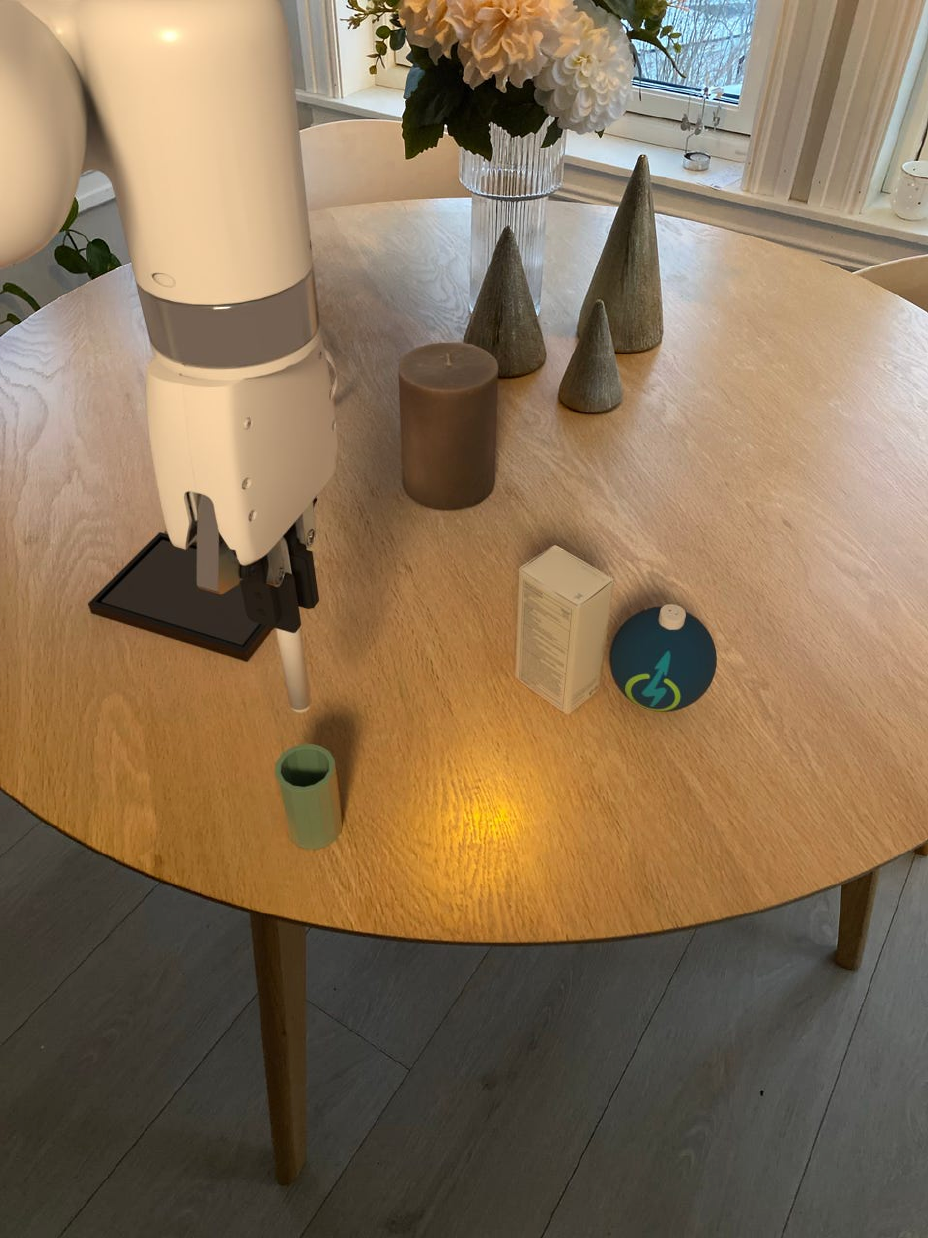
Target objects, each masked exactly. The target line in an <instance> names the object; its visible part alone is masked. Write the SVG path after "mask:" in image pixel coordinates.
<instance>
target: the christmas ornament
mask: <svg viewBox="0 0 928 1238" xmlns="http://www.w3.org/2000/svg"><path fill="white" fill-rule="evenodd" d="M608 662H609V668H610V672H611V676H612V679H613V681H614V683H615V685H616V686H617V688H618V689H619V691H620V692H621V693H622V694H623V696H624V697H625V698H626V699H628V700H629V701H630V702H632V703H633V704H634V705H636V706H637V707H640V708H643V709H645V710H648V711H653V712H660V713H669V712H675V711H679V710H682V709H684V708H685V709H686V708H687V707H689V706H691V705H692V704H694V703H696V702H697V701H698V700H700V699H701V698H702V697H703V696H704V694H705V693H706V692H707V691H708V689H709V688H710V686H711V684H712V683H713V680H714V678H715V675H716V672H717V667H718V666H717V665H718V654H717V648H716V644H715V642H714V639H713V637H712V635H711V633H710V631H709V630H708V628H707V627H706V626H705V624H704V623H703V622H702V621H700V619H698V617H696V616H695V615H693V614H692V613H689V612H688V611H686V610H685V609H684V608H683V607H682V606H680V605H678V604H674V603H669V604H667V603H666V604H665V605H663V606H653V607H648V608H645V609H642V610H640V611H638V612H636V613H634V614H633V615H631V616H630V617H629V618H627V619H626V620H625V621H624V622H623V623H622V625H620V626H619V628H618V629H617V631H616V632H615V635H614V637H613V639H612V641H611V645H610V649H609V661H608Z"/></svg>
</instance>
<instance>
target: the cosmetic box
mask: <svg viewBox="0 0 928 1238" xmlns="http://www.w3.org/2000/svg"><path fill="white" fill-rule="evenodd" d="M614 581H615V580H614V579H613V578H612V577H610V576H609V575H608V574H606V573H604V572H602V571H601V570H599V569H598V568H596V567H594V566H592V565H591V564H589V563H588V562H586V561H584V560H582V559H580V558H579V557H577V556H576V555H574V554H572V553H570V552H569V551H566V550H565V549H564V548H561V547H560V546H558V545H556V544H555V545H552V546H551V547H549V548H548V549H546V550H544V551H543V552H541V553H540V554H538V555H537V556H535V557H533V558H532V559H530V560H529V561H528V562H526V563H524V564H523V565H521V566H520V567H518V581H517V582H518V583H517V609H516V611H517V612H516V639H515V643H516V644H515V663H514V665H515V666H514V667H515V668H514V677H515V679H516V680H518V681H519V682H520V683H522V684H523V685H524V686H526V687H527V688H528V689H529V690H531V691H532V692H534V693H535V694H536V695H538V696H539V697H540V698H542V699H543V700H545V701H546V702H548V703H549V704H550V705H552V706H553V707H554V708H556V709H558V711H560V712H562V713H563V714H565V715H567V716H568V715H570V714H572V713H573V712H574V711H575V710H577V709H578V708H579V707H580V706H582V705H583V704H584V703H586V702H587V701H588V700H589V699H590V698H592V697H593V696H595V694H596V693H598V692H599V691H600V689H601V685H602V677H603V670H604V669H603V668H604V663H605V662H604V661H605V655H606V654H605V653H606V646H607V638H608V630H609V623H610V615H611V614H610V613H611V606H612V599H613V598H612V597H613V590H614Z"/></svg>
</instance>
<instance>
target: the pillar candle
mask: <svg viewBox="0 0 928 1238" xmlns="http://www.w3.org/2000/svg"><path fill="white" fill-rule="evenodd" d="M397 369H398V370H397V371H398V397H399V399H398V401H399V421H400V422H399V432H400V461H401V462H400V463H401V466H400V467H401V475H402V476H401V478H402V487H403V490H404V491H405V493H406V495H407V496H408V497H409V498H410V499H412V500H413V501H415V503H418V504H420V505H421V506H423V507H426V508H428V509H433V510H439V511H443V512H444V511H459V510H462V509H463V510H464V509H467V508H472V507H475V506H477V505H479V504H482V503H483V501H485V500H486V499H488V498H489V497H490V495H491V494H492V492H493V491H494V488H495V475H496V471H495V470H496V452H497V451H496V448H497V421H498V419H497V418H498V417H497V416H498V391H499V389H498V388H499V385H498V384H499V364H498V361H497V359H496V358H495V357H494V356H493V354H491V353H490V352H489V351H487V350H485V349H483V348H481V347H478V346H476V345H474V344H472V343H465V342H459V341H458V342H456V341H455V342H454V341H453V342H437V343H435V342H434V343H433V342H432V343H429V344H425V345H422V346H418V347H416V348H413V349H412V350H410V351H408V352H407V353H405V354H403V355H401V356H400V357H399V362H398V367H397Z"/></svg>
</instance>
